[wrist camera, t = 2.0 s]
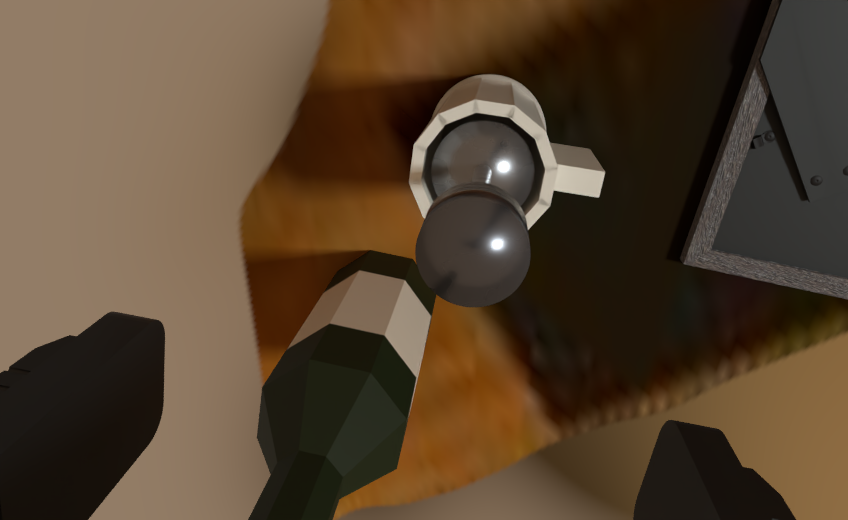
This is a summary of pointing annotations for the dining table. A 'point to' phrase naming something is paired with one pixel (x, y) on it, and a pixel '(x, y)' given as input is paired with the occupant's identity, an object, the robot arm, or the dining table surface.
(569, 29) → the dining table surface
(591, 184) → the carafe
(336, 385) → the wine bottle
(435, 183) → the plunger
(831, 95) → the picture frame
